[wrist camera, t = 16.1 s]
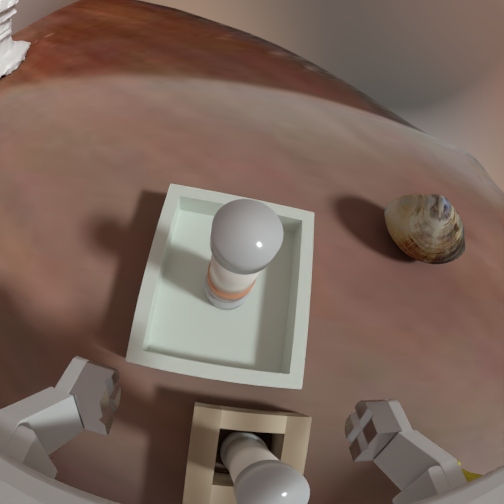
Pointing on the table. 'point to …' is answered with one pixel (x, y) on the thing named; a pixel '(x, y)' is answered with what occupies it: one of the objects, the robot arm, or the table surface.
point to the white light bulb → (260, 472)
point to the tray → (216, 320)
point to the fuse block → (216, 416)
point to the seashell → (426, 228)
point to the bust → (9, 40)
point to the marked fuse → (240, 250)
